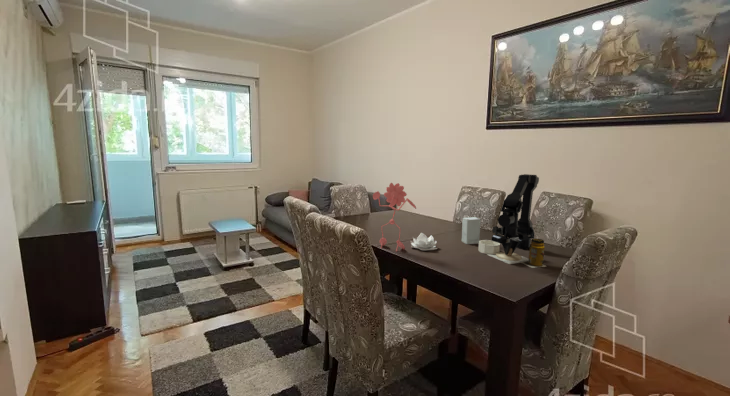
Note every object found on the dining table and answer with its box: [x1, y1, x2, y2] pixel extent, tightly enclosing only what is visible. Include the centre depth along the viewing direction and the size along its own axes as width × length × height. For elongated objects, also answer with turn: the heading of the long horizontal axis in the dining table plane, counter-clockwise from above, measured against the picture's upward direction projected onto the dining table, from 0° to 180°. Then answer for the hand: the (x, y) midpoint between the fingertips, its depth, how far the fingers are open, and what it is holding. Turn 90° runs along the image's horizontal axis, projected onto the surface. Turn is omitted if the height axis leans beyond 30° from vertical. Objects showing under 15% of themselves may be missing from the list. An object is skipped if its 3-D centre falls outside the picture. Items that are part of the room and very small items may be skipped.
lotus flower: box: [410, 232, 438, 251], centre depth 176 cm, size 14×15×9 cm
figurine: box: [372, 182, 417, 252], centre depth 175 cm, size 15×26×35 cm, turn 57°
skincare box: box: [461, 216, 481, 245], centre depth 187 cm, size 8×6×15 cm
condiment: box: [520, 237, 547, 269], centre depth 154 cm, size 7×8×12 cm
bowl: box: [478, 239, 501, 255], centre depth 173 cm, size 10×10×5 cm
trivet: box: [486, 254, 529, 265], centre depth 164 cm, size 14×14×1 cm
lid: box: [496, 248, 522, 261], centre depth 164 cm, size 12×12×4 cm
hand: (508, 254), depth 164 cm, fingers closed on lid, 3 cm apart
